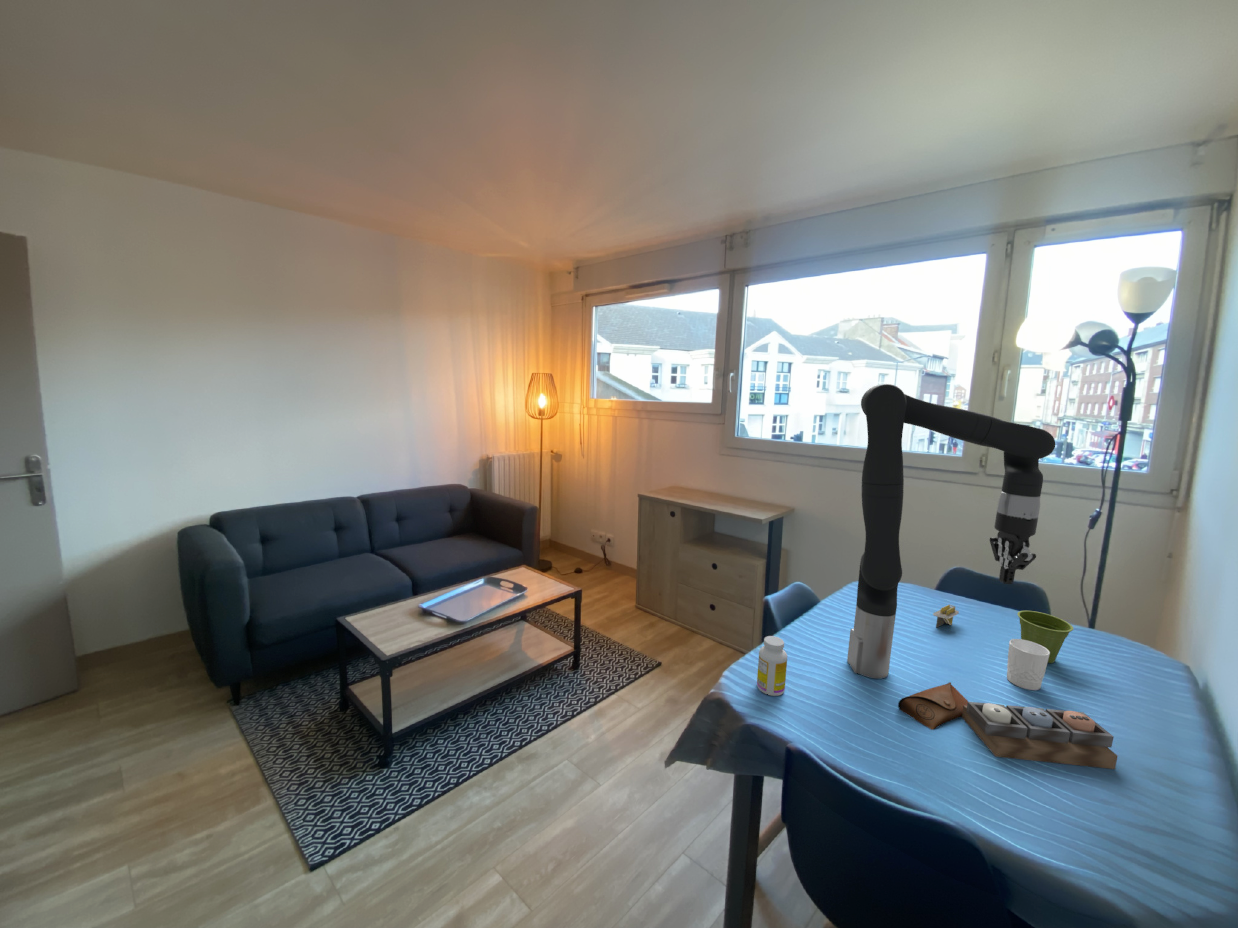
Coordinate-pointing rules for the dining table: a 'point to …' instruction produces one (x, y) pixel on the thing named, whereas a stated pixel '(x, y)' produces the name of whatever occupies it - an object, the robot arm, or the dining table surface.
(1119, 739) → the dining table surface
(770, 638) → the supplement bottle
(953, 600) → the dining table surface
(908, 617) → the dining table surface
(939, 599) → the dining table surface
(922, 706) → the sunglasses case
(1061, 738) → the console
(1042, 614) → the plant pot
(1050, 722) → the button two
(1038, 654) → the white cup
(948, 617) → the platform
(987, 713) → the button one
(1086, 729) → the button three
